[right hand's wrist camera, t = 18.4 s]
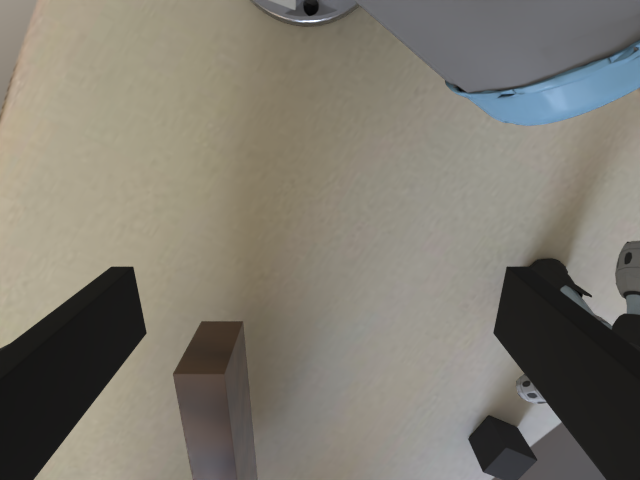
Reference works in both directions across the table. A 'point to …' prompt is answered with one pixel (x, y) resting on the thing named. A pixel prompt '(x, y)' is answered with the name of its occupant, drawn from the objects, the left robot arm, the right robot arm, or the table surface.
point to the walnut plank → (217, 403)
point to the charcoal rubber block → (501, 449)
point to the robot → (632, 282)
